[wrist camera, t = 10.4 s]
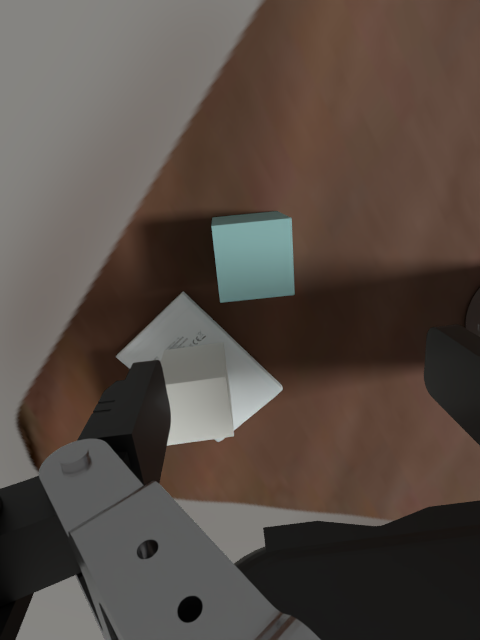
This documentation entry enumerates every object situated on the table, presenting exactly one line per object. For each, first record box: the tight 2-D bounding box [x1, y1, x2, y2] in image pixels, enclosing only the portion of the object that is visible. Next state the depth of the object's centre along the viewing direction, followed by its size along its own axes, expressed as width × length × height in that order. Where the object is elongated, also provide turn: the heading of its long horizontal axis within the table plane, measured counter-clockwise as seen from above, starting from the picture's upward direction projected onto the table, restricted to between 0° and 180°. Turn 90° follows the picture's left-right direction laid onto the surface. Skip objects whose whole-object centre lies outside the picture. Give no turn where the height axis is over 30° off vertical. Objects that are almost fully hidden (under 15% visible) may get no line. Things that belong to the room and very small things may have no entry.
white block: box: [161, 342, 234, 445], centre depth 30 cm, size 5×5×6 cm
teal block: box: [211, 211, 295, 303], centre depth 27 cm, size 5×5×6 cm
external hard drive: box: [116, 291, 283, 442], centre depth 34 cm, size 2×8×12 cm
